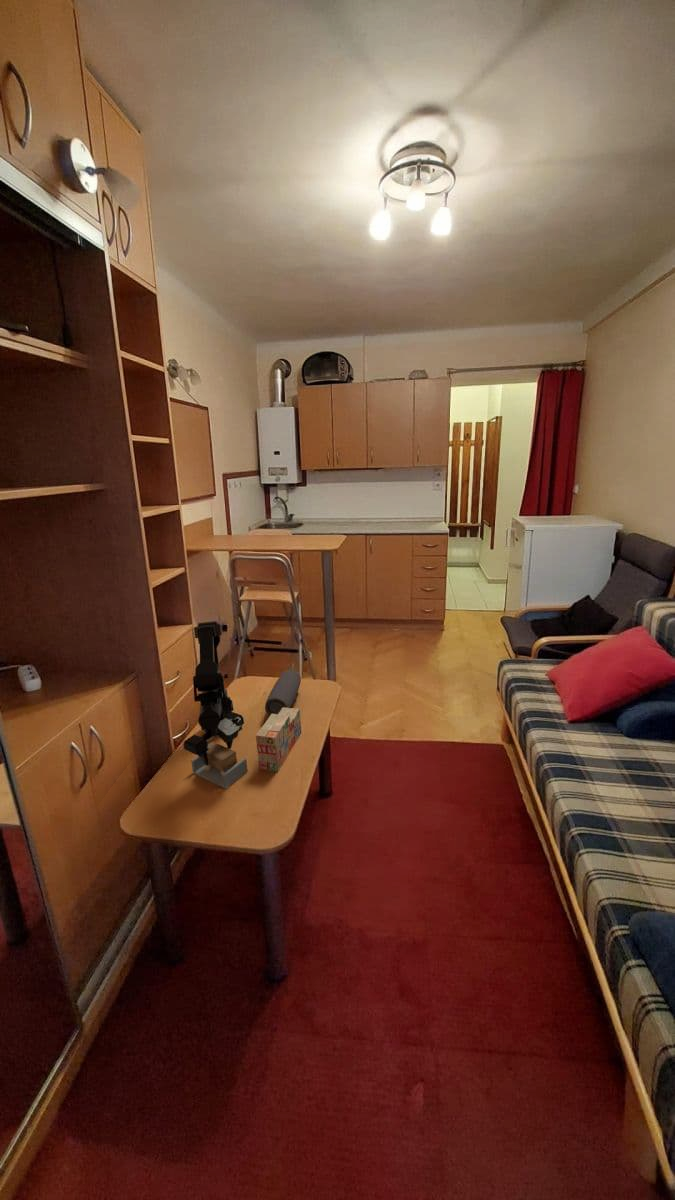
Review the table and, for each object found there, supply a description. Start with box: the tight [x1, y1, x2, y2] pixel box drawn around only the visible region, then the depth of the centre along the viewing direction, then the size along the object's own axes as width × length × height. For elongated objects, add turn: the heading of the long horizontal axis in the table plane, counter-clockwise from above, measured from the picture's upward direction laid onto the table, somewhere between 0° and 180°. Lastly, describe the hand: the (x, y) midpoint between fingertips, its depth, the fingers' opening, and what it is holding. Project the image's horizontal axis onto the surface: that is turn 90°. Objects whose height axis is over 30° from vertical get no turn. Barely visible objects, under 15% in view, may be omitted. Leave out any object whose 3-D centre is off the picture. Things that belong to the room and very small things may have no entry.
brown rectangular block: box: [201, 741, 238, 772], centre depth 139 cm, size 10×5×4 cm, turn 57°
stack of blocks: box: [255, 707, 302, 773], centre depth 149 cm, size 21×6×12 cm, turn 165°
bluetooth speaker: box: [264, 669, 302, 717], centre depth 176 cm, size 23×9×10 cm, turn 172°
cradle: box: [190, 755, 249, 790], centre depth 140 cm, size 14×9×4 cm, turn 57°
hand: (218, 756), depth 139 cm, fingers open, 9 cm apart
